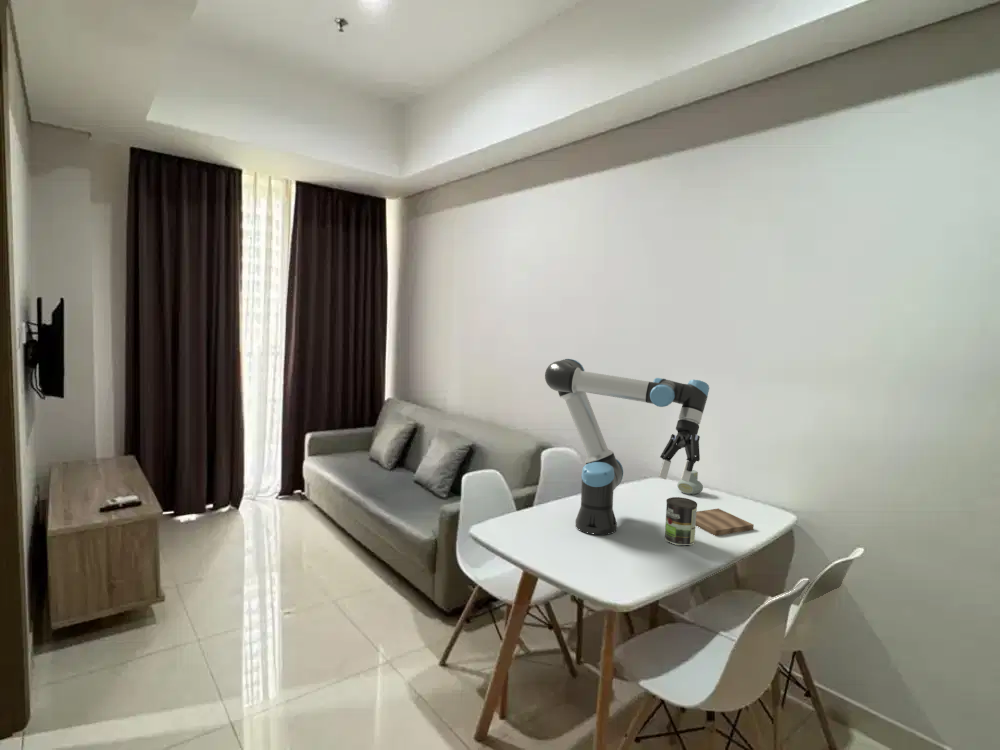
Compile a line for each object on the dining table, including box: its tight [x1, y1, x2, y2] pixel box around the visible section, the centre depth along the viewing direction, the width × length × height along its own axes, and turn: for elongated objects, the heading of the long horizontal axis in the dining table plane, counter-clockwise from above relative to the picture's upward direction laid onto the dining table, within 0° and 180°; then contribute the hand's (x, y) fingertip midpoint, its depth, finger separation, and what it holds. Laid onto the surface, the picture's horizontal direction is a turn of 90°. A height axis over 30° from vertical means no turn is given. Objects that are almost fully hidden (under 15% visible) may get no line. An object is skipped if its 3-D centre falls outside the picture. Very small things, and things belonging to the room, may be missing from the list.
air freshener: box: [677, 469, 704, 495], centre depth 245 cm, size 11×8×10 cm
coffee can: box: [664, 496, 698, 546], centre depth 192 cm, size 10×10×14 cm
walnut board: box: [695, 508, 754, 537], centre depth 209 cm, size 18×18×2 cm
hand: (673, 479), depth 191 cm, fingers open, 13 cm apart
